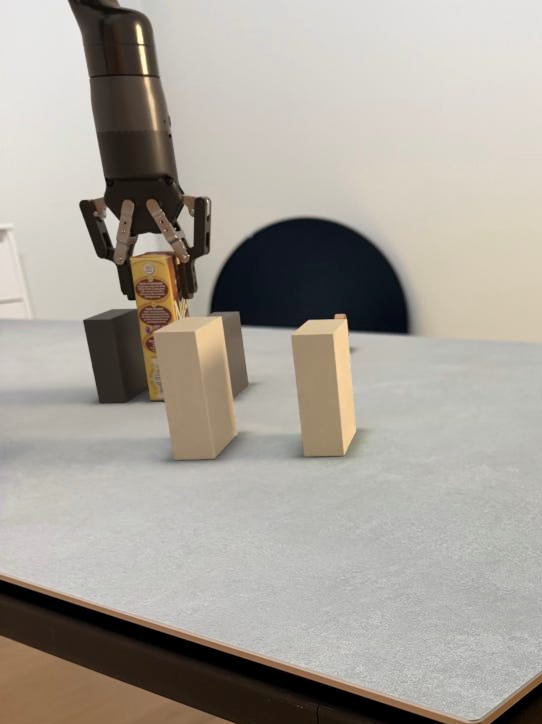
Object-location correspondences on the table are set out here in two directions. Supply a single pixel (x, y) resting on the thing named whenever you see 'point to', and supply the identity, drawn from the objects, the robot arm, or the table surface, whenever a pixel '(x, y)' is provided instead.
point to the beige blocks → (214, 394)
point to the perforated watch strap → (341, 316)
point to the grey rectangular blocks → (126, 358)
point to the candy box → (156, 305)
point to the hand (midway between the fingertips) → (161, 298)
